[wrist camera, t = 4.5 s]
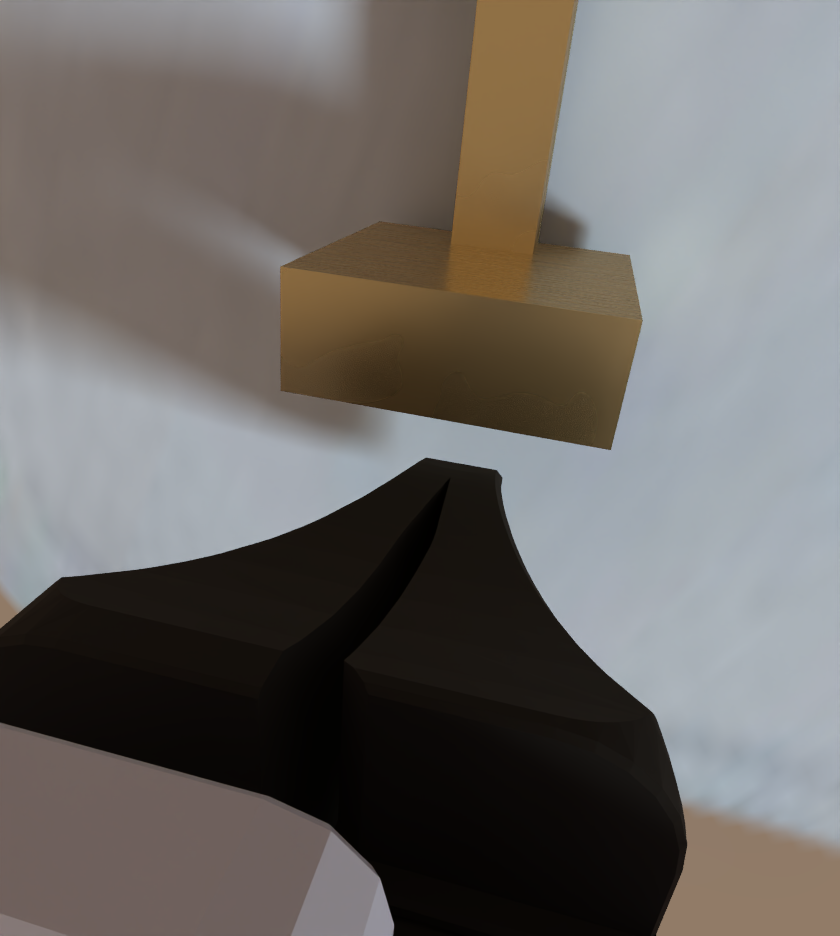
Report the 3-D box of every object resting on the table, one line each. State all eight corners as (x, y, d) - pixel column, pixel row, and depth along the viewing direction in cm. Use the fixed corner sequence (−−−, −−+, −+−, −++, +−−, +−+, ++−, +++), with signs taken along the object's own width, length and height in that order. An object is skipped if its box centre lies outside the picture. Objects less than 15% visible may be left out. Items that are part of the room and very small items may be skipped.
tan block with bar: (608, 348, 11) (610, 450, 8) (374, 312, 12) (280, 390, 9) (783, -417, 7) (942, -898, 4) (419, -410, 8) (278, -817, 5)
